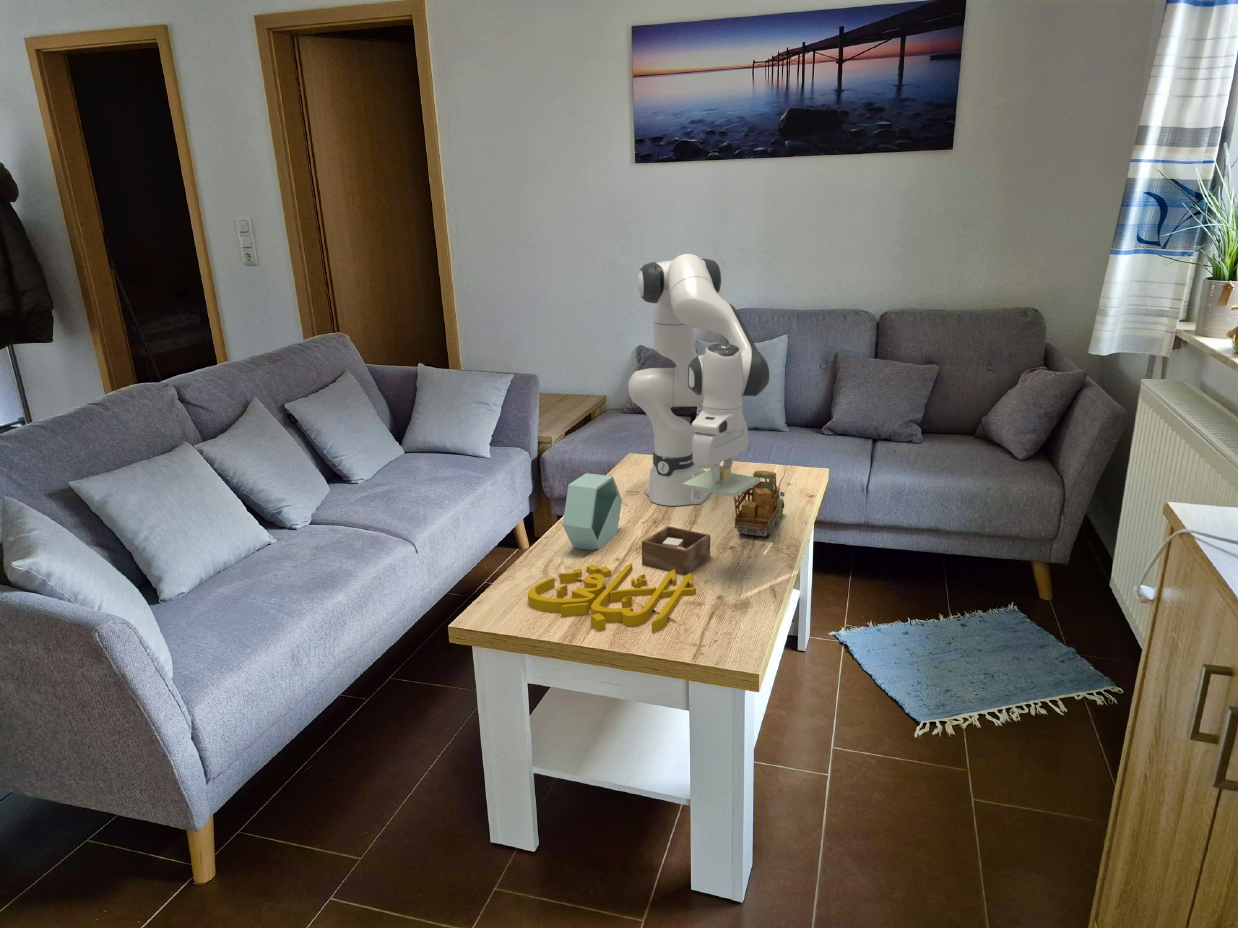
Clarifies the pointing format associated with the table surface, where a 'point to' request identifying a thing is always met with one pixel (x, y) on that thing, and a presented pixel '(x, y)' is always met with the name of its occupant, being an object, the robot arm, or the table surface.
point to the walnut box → (676, 550)
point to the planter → (592, 511)
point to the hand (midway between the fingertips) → (721, 477)
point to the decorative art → (610, 597)
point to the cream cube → (673, 542)
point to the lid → (721, 483)
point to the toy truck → (759, 507)
